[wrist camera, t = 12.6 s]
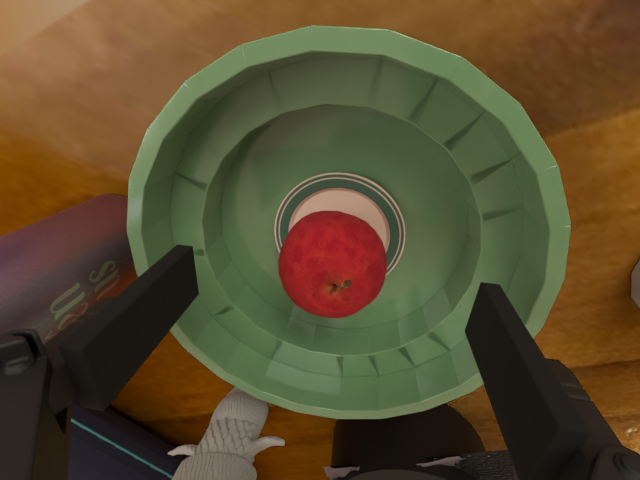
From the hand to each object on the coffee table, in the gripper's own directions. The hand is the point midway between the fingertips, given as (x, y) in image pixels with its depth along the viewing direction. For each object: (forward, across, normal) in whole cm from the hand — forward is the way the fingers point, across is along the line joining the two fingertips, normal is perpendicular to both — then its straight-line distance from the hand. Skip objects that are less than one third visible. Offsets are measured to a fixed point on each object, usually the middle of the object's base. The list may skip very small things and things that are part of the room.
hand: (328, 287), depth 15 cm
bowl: (+7, 0, 0) cm, 7 cm away
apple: (+6, 0, 0) cm, 6 cm away
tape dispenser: (+7, +9, -22) cm, 25 cm away
